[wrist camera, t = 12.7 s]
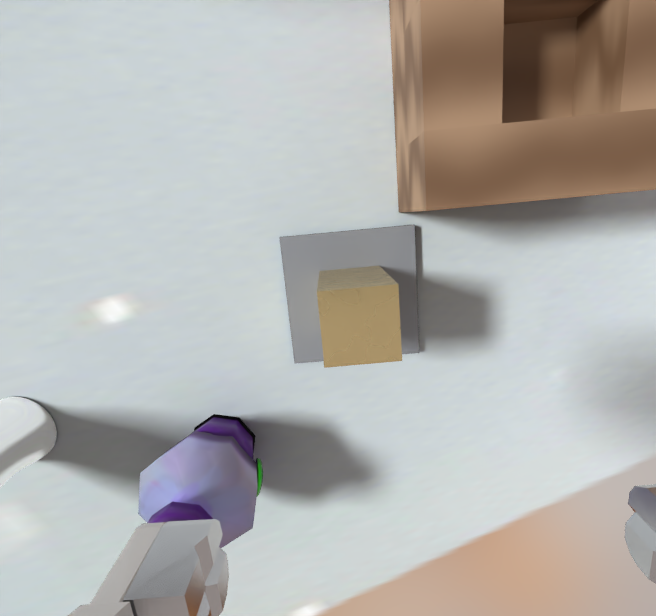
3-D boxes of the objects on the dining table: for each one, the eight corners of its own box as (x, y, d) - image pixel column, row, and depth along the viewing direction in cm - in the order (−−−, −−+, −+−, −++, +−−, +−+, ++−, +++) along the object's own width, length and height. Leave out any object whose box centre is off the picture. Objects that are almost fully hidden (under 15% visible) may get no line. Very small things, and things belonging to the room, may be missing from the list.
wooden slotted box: (388, -7, 25) (417, -108, 17) (603, -29, 25) (731, -142, 17) (398, 212, 28) (426, 210, 20) (588, 194, 28) (689, 186, 20)
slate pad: (280, 236, 29) (279, 237, 28) (412, 224, 28) (414, 224, 28) (295, 360, 31) (294, 363, 30) (417, 350, 31) (419, 352, 30)
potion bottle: (285, 474, 33) (262, 612, 22) (192, 494, 34) (122, 640, 22) (257, 387, 31) (216, 487, 20) (159, 410, 32) (63, 521, 20)
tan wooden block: (319, 271, 29) (316, 291, 21) (378, 265, 28) (398, 284, 21) (325, 327, 30) (324, 367, 22) (382, 322, 30) (402, 360, 22)
